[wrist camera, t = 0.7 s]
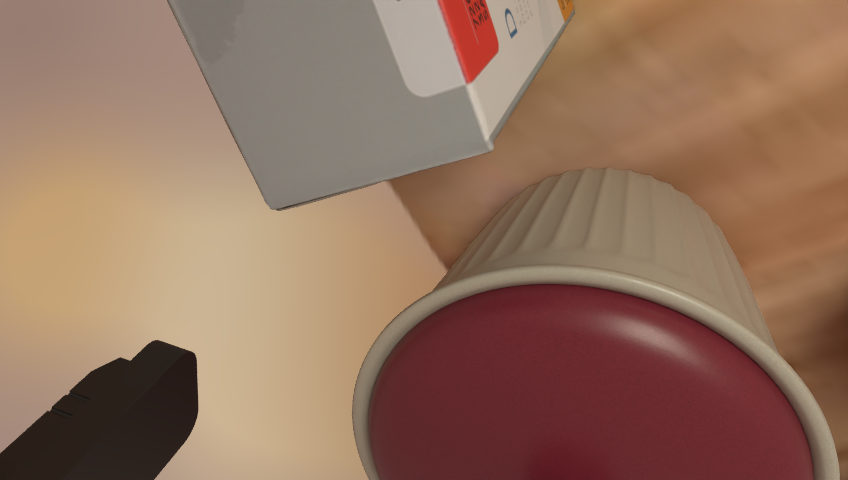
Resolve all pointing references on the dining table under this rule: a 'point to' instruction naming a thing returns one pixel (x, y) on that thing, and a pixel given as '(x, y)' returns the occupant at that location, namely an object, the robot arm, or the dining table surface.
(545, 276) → the canister
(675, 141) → the dining table surface
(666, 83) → the dining table surface
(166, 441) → the robot arm
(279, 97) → the hard drive box
